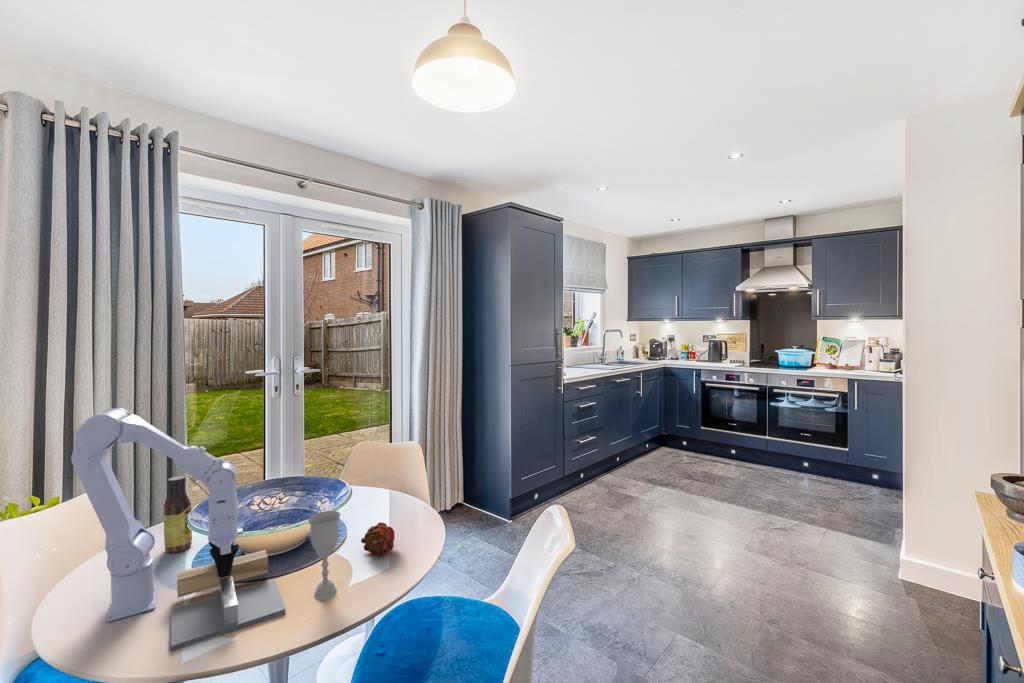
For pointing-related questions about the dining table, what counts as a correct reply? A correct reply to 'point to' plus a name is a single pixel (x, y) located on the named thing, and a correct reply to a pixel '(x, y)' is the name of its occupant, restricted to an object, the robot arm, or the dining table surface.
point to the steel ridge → (228, 601)
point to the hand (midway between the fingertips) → (223, 571)
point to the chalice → (324, 547)
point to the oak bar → (209, 576)
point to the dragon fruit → (379, 539)
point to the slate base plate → (208, 617)
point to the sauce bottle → (177, 516)
